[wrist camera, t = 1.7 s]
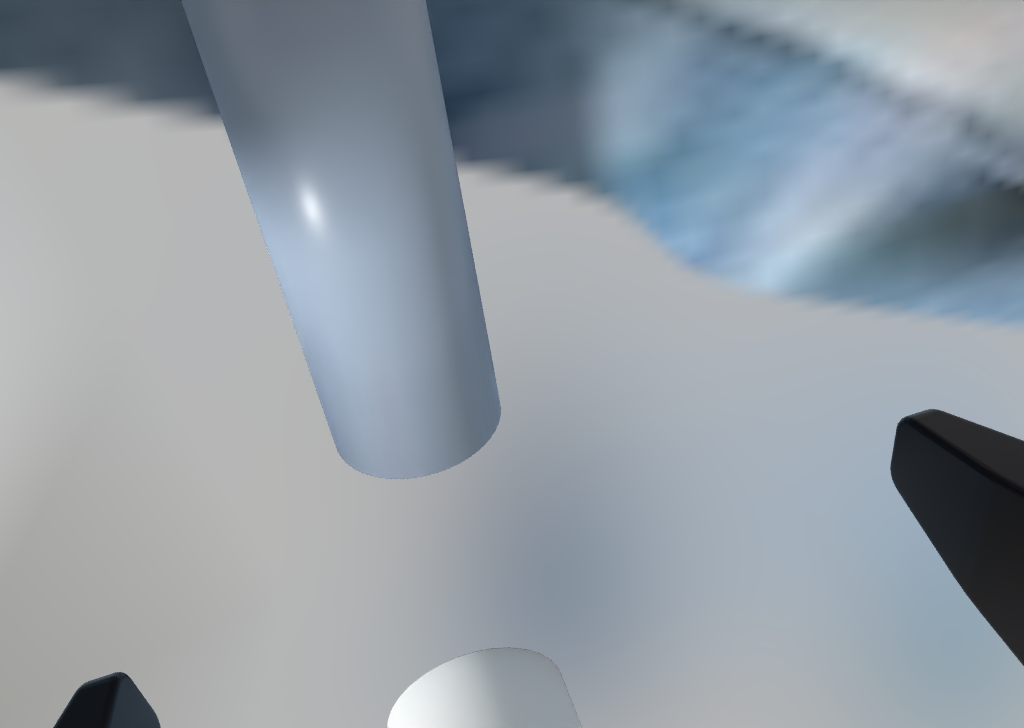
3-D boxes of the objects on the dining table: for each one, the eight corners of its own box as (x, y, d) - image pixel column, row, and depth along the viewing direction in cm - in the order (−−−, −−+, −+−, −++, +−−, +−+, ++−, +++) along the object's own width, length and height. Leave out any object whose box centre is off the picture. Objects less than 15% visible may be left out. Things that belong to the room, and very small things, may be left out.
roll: (498, 359, 24) (504, 466, 20) (344, 380, 24) (324, 489, 20) (420, -72, 17) (409, -27, 14) (211, -39, 17) (146, 15, 14)
